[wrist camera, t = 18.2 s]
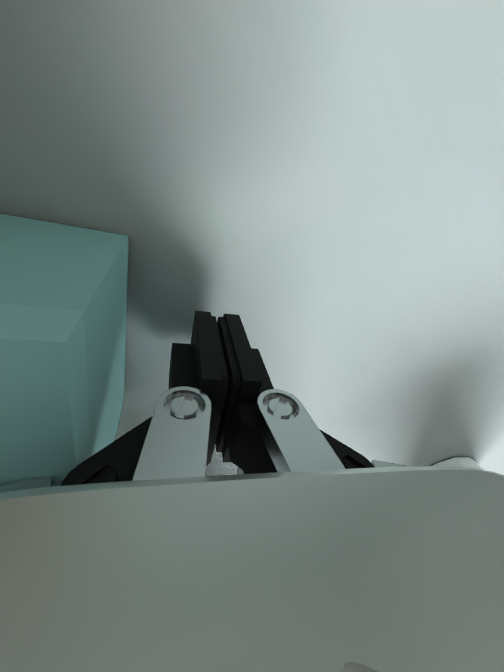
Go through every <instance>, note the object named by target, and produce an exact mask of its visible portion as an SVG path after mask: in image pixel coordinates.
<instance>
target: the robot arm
mask: <svg viewBox="0 0 504 672" xmlns="http://www.w3.org/2000/svg"><path fill="white" fill-rule="evenodd" d="M215 445H216V451H217V452H222V458H223V462H232V463H234V464H235V465H236V466H238V469H237V474H238V475H221V476H205V471H206V466H207V465H208V464H209V463H210V462H211V458H212V454H213V451H214V446H215ZM0 672H504V475H501V474H498V473H495V472H491V471H486V470H481V469H476V468H468V467H458V466H405V465H399V464H394V463H388V462H383V461H377V460H372V462H370V461H369V460H368V459H366V458H365V457H364V456H362V455H361V454H359V453H358V452H356V451H354V450H353V449H351V448H349V447H348V446H346V445H344V444H343V443H341V442H340V441H338V440H336V439H335V438H333V437H331V436H330V435H328V434H326V433H325V432H323V431H321V430H320V429H319V428H318V427H317V425H316V424H315V422H314V421H313V419H312V418H311V416H310V415H309V413H308V412H307V410H306V409H305V407H304V406H303V404H302V403H301V402H300V401H299V400H298V398H296V397H295V396H294V395H292V394H290V393H288V392H286V391H283V390H279V389H274V388H273V386H272V383H271V381H270V378H269V375H268V373H267V370H266V368H265V365H264V363H263V360H262V357H261V355H260V352H259V350H258V349H253V348H251V347H250V344H249V342H248V339H247V336H246V333H245V330H244V328H243V325H242V322H241V319H240V316H239V315H233V314H224V316H223V317H218V321H216V317H215V316H211V313H210V312H203V311H195V315H194V323H193V330H192V338H191V344H181V343H172V351H171V361H170V373H169V389H168V390H167V391H165V392H164V393H163V394H162V395H161V396H160V398H159V399H158V401H157V405H156V408H155V411H154V414H153V416H152V417H150V418H149V419H147V420H146V421H144V422H143V423H141V424H140V425H138V426H137V427H135V428H133V429H132V430H130V431H129V432H127V433H126V434H124V435H123V436H121V437H120V438H118V439H117V440H115V441H114V442H112V443H111V444H109V445H108V446H106V447H104V448H103V449H101V450H100V451H98V452H97V453H95V454H94V455H92V456H91V457H89V458H88V459H86V460H85V461H83V462H82V463H80V464H79V465H77V466H76V468H74V469H72V470H71V471H70V472H69V473H68V474H67V476H66V477H65V478H64V480H60V481H52V478H51V476H46V477H37V478H32V479H28V480H23V481H19V482H14V483H10V484H5V485H1V486H0Z"/></svg>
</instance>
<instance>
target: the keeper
mask: <svg viewBox="0 0 504 672" xmlns="http://www.w3.org/2000/svg"><path fill="white" fill-rule="evenodd" d="M128 243H129V236H126V235H120V234H115V233H109V232H103V231H97V230H92V229H86V228H80V227H75V226H69V225H63V224H57V223H52V222H46V221H40V220H34V219H29V218H23V217H17V216H12V215H6V214H0V486H1V485H5V484H10V483H14V482H19V481H23V480H28V479H32V478H37V477H46V476H51V478H52V481H60V480H64V478H65V477H66V476H67V474H68V473H69V472H70V471H71V470H72V469H74V468H76V466H77V465H79V464H80V463H82V462H83V461H85V460H86V459H88V458H89V457H91V456H92V455H94V454H95V453H97V452H98V451H100V450H101V449H103V448H104V447H106V446H108V445H109V444H111V443H112V442H114V441H115V438H116V433H117V429H118V424H119V420H120V415H121V411H122V406H123V401H124V384H125V349H126V314H127V278H128Z"/></svg>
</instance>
